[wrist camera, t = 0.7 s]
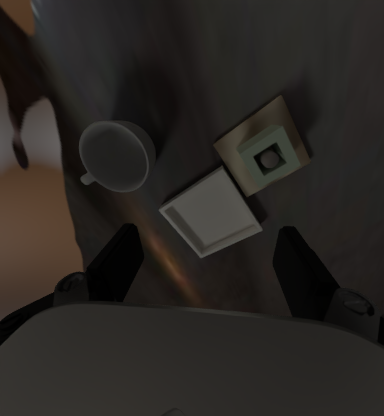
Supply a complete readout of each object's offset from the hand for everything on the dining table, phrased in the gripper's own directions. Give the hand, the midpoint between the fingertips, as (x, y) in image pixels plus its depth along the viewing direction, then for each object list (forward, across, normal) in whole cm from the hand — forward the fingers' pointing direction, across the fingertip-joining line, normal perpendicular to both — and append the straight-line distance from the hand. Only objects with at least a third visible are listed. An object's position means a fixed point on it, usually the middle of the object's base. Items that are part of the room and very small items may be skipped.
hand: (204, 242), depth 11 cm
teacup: (+24, +16, -2) cm, 29 cm away
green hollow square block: (+22, -9, -1) cm, 24 cm away
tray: (+24, 0, +12) cm, 26 cm away
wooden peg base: (+24, -9, -1) cm, 25 cm away
